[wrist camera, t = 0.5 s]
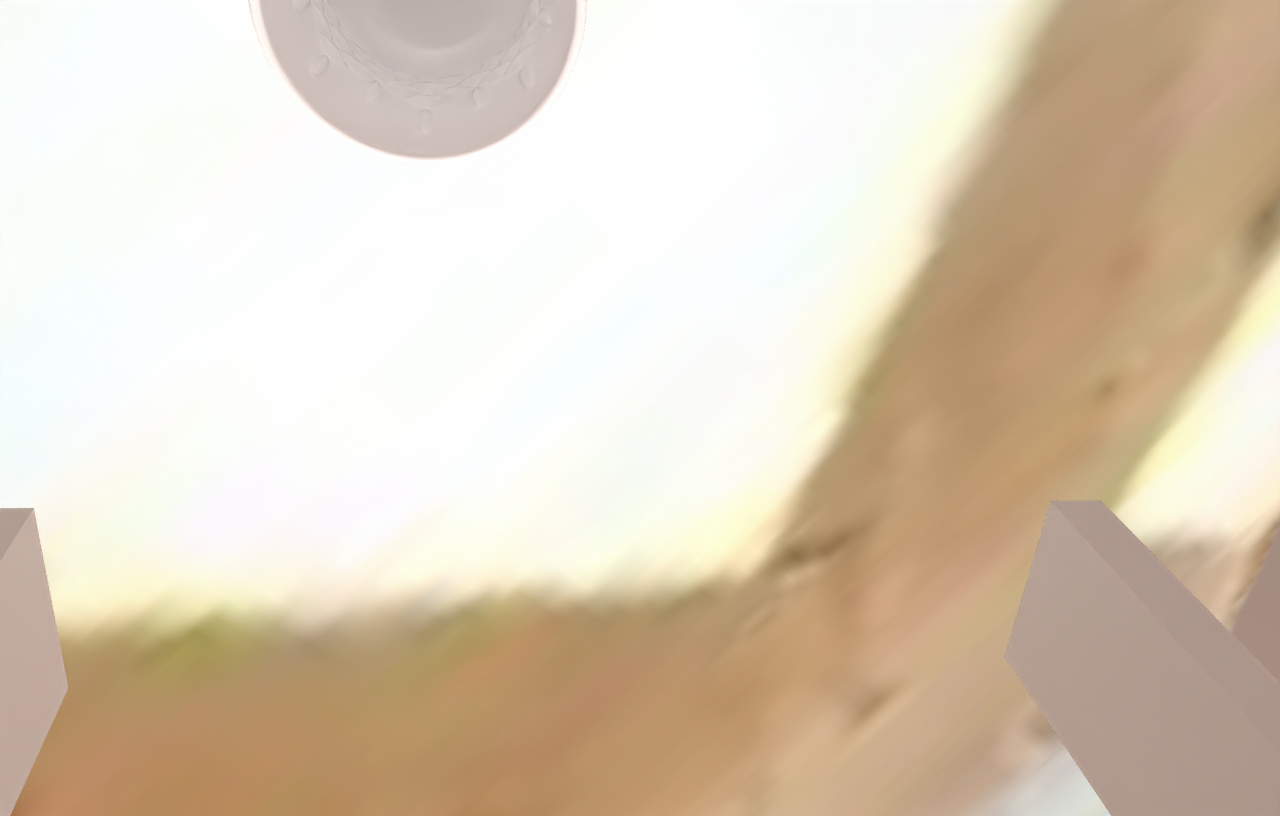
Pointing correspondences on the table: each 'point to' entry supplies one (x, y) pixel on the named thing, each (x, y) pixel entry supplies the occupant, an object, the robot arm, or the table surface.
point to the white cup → (422, 69)
